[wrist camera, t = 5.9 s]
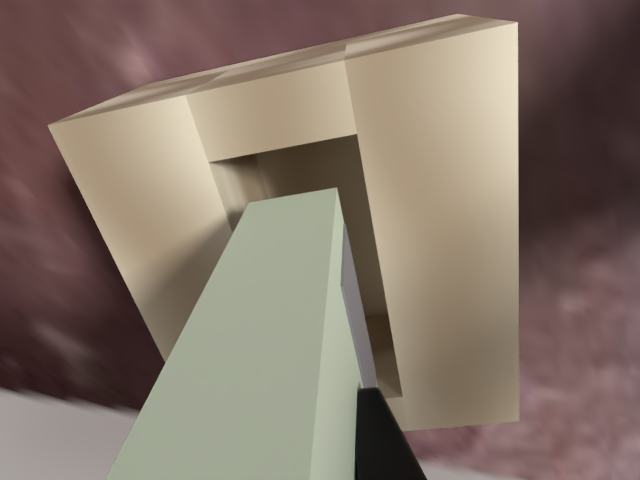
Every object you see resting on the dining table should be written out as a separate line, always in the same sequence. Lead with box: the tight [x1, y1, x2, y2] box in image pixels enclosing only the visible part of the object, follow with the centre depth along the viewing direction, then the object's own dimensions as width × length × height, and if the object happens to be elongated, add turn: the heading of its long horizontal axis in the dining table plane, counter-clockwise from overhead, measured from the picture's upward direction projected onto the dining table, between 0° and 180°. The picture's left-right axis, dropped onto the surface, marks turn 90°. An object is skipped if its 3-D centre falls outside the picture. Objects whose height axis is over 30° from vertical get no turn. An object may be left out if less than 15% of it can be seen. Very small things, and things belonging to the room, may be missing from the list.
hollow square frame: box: [48, 14, 519, 431], centre depth 14 cm, size 10×11×6 cm
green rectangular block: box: [105, 188, 378, 480], centre depth 8 cm, size 2×6×8 cm, turn 12°
